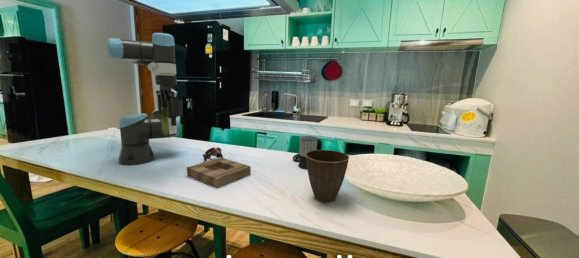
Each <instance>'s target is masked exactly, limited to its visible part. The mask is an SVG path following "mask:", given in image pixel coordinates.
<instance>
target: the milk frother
mask: <svg viewBox="0 0 579 258" xmlns="http://www.w3.org/2000/svg"><path fill="white" fill-rule="evenodd" d="M298 139H299V153H296V154H295V155H293V156H292V160H293V161H294V162H298V164H297V166H298V167H299V168H301V169H303V170H307V163H306V153H307V152H310V151H314V150H323V149H322V148H323V143H322V140H321V139H319V138H318V136H312V135H302V136H299V138H298Z"/></svg>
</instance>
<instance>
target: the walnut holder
mask: <svg viewBox="0 0 579 258" xmlns="http://www.w3.org/2000/svg"><path fill="white" fill-rule="evenodd" d="M251 169H252V167H251V165H248V164H244V163H241V162H238V161H234V160H231V159H228V158H224V157H223V158H222V157H219V158H218V157H216V158H214V159H211V160H210V159H209V160H206V161H204V162H200V163H197V164H193V165H190V166H186V174H187V175H186V176H187V177H188V178H191V179H194V180H196V181H198V182H200V183H203V184H206V185H208V186H210V187H213V188H214V189H220V188H222V187H225V186H226V185H229V184H232V183H235V182H236V181H239V180H241V179H243V178H246V177H249V176H251Z"/></svg>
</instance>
